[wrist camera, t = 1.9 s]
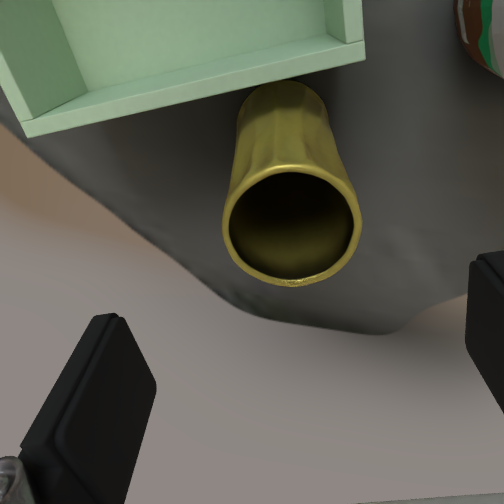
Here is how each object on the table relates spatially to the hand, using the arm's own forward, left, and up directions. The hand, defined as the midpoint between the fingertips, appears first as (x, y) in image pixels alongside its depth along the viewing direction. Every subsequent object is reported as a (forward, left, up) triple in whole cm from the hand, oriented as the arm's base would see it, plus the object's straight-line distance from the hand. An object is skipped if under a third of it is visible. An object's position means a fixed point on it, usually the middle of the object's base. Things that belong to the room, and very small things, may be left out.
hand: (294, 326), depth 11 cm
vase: (0, 0, -19) cm, 19 cm away
